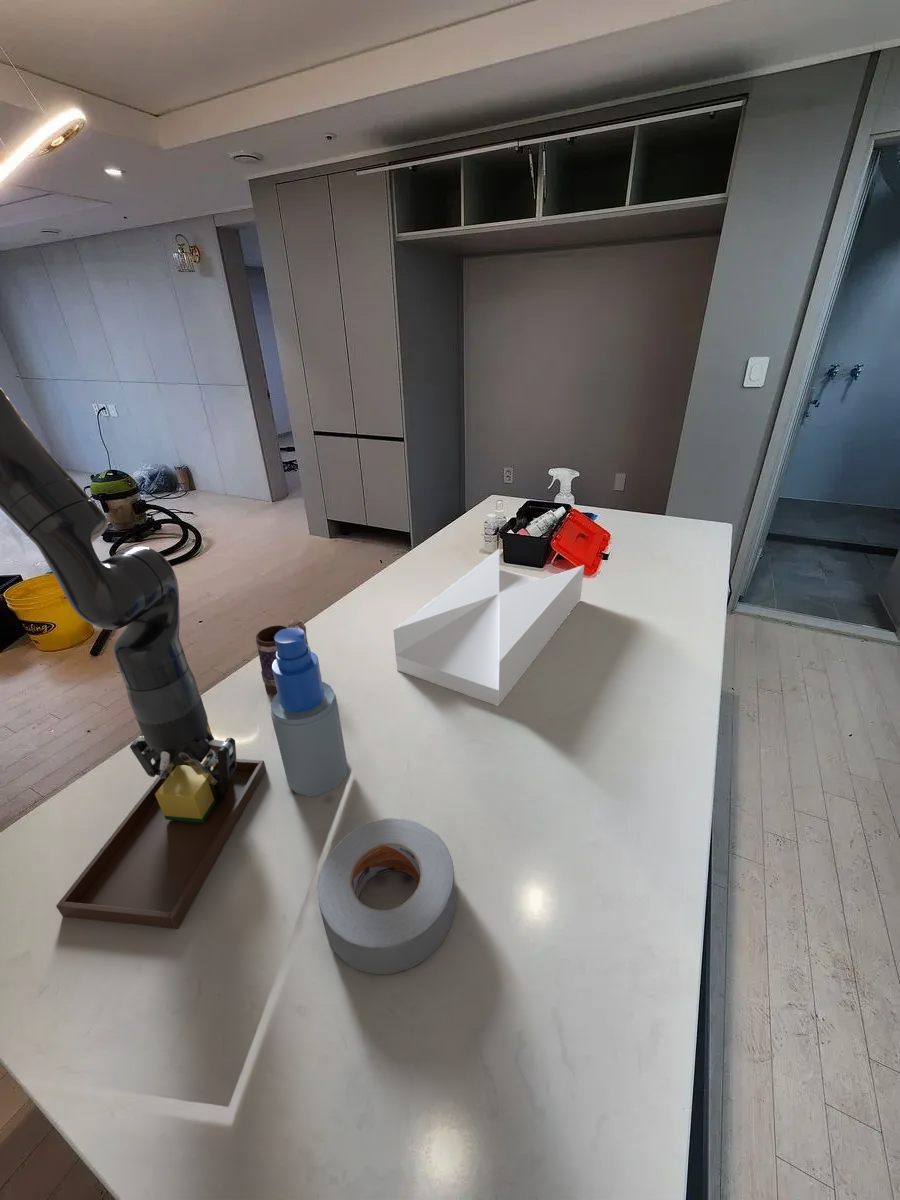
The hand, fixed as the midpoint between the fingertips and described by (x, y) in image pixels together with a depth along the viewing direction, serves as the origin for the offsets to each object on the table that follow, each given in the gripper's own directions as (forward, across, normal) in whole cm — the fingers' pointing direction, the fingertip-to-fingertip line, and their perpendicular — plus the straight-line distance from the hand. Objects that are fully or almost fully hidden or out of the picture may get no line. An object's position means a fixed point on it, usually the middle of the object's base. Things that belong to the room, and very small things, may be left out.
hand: (201, 794), depth 72 cm
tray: (+1, 0, +6) cm, 6 cm away
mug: (+1, -2, -28) cm, 28 cm away
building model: (+1, -41, -49) cm, 64 cm away
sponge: (0, 0, 0) cm, 0 cm away
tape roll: (+1, -30, +12) cm, 32 cm away
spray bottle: (+1, -15, -6) cm, 16 cm away
